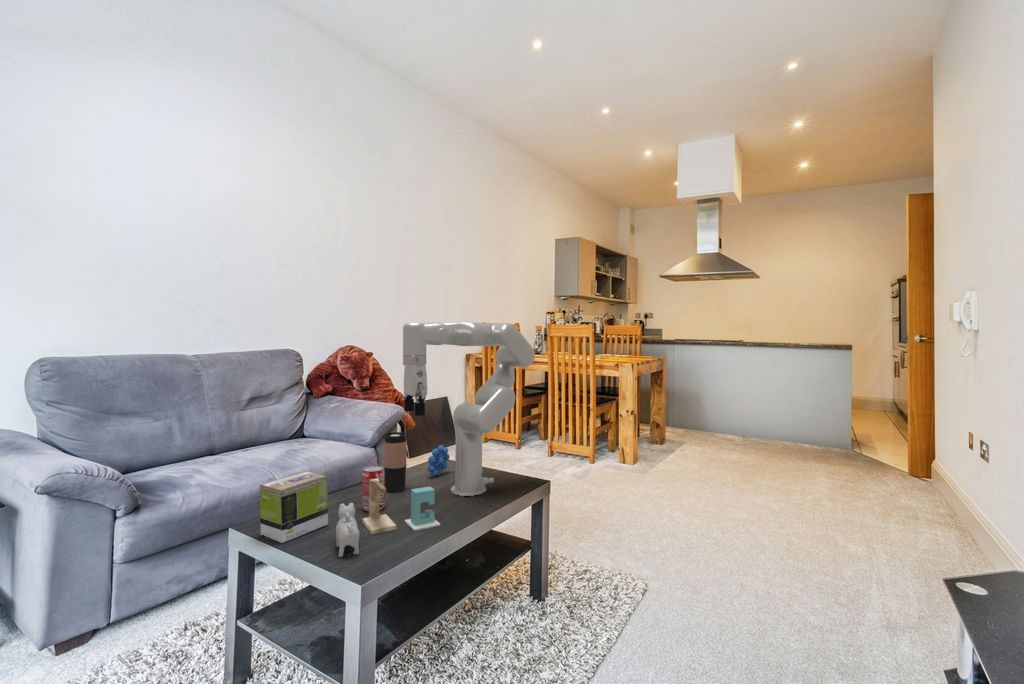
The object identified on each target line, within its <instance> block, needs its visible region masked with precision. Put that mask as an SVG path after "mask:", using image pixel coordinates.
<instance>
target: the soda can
mask: <svg viewBox="0 0 1024 684" xmlns="http://www.w3.org/2000/svg"><path fill="white" fill-rule="evenodd" d="M376 478H377V479H379V480H380V483H381V484H382V485H383V486H384V487H385V472H384V466H381V465H371V466H366V467H364V468H363V471H362V473H361V508H362V509H363V511H365V512H368V513H369V479H376ZM385 507H386V493H381V492H380V491H379V511H381V510H383V509H384V508H385Z"/></svg>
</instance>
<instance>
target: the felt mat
mask: <svg viewBox="0 0 1024 684" xmlns="http://www.w3.org/2000/svg"><path fill="white" fill-rule="evenodd" d="M404 523H405V524H406V525H407V526H409V528H410V529H412V531H414V532H417V531H421V530H425V529H431V528H434V527H440V526H441V523H440V522H439V521H438V520H436V519H434V522H432V523H427V524H422V525H417V526H415V525H414V524H413V523H412V522H411V518H408V519H404Z"/></svg>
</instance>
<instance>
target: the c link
mask: <svg viewBox="0 0 1024 684" xmlns="http://www.w3.org/2000/svg"><path fill="white" fill-rule="evenodd" d="M435 493H436V489H434V488H433V487H432V486H423V487H416V488H411V490H410V519H411V522H412V523H413V524H414V525H415V526H417V525H422V524H427V523H432V522H434V519H435V517H436V516H435V514H436V513H435V511H432V510H431V509H426V510H424V513H421V504H423V503H426V504H428V505H434V504H435V503H436V502H435V501H436V499H435V498H436V497H435V496H436V495H435ZM435 520H436V519H435Z"/></svg>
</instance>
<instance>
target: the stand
mask: <svg viewBox="0 0 1024 684" xmlns="http://www.w3.org/2000/svg"><path fill="white" fill-rule="evenodd" d="M379 491H380V492H381V493H385V494H386V493H387V492H386V488H385V487H384V486H383V485H382V484H381V483H380V480H379V479H377V478H376V479H369V512H368V517H364V518H363V517H362V524H363V525H364V526H365V528H366V529H367V531H369V533H370V534H371V535H375V534H381V533H387V532H391V531H395V530H397V524H396V523H395V522H394V521H393V520H392V519H391V518H390V517H389V516H388V515H387V514H386V513H384V514H380V510H379Z"/></svg>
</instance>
